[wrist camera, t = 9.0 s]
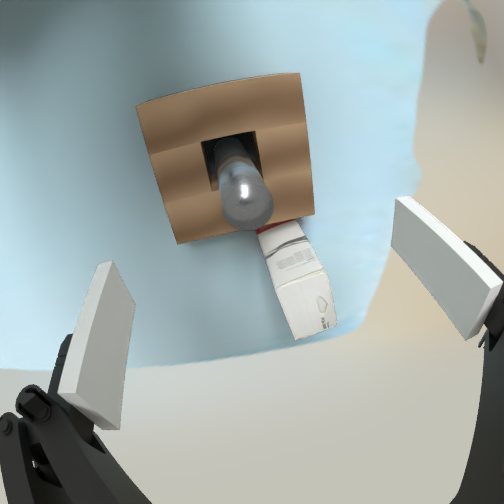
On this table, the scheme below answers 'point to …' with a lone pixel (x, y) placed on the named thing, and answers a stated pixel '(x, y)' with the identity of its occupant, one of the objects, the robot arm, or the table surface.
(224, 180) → the peg
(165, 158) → the socket block
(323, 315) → the ink box
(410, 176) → the table surface
